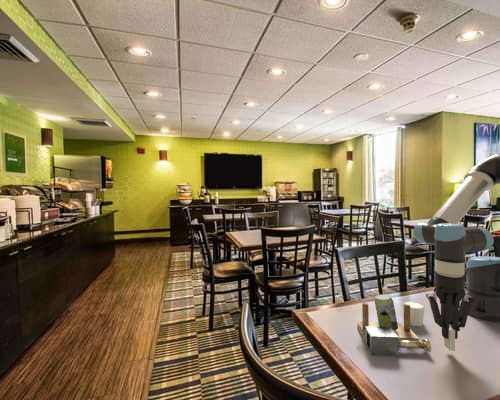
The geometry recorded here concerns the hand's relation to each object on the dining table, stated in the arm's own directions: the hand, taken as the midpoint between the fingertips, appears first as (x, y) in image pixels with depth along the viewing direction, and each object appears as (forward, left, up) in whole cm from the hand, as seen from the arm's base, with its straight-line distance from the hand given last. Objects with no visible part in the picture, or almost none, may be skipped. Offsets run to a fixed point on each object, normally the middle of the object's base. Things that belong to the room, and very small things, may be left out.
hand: (449, 348), depth 82 cm
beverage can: (+15, -10, 0) cm, 18 cm away
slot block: (+20, 0, -2) cm, 20 cm away
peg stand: (+15, -10, -2) cm, 18 cm away
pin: (+12, 0, -1) cm, 12 cm away
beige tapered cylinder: (+1, -20, -2) cm, 20 cm away
